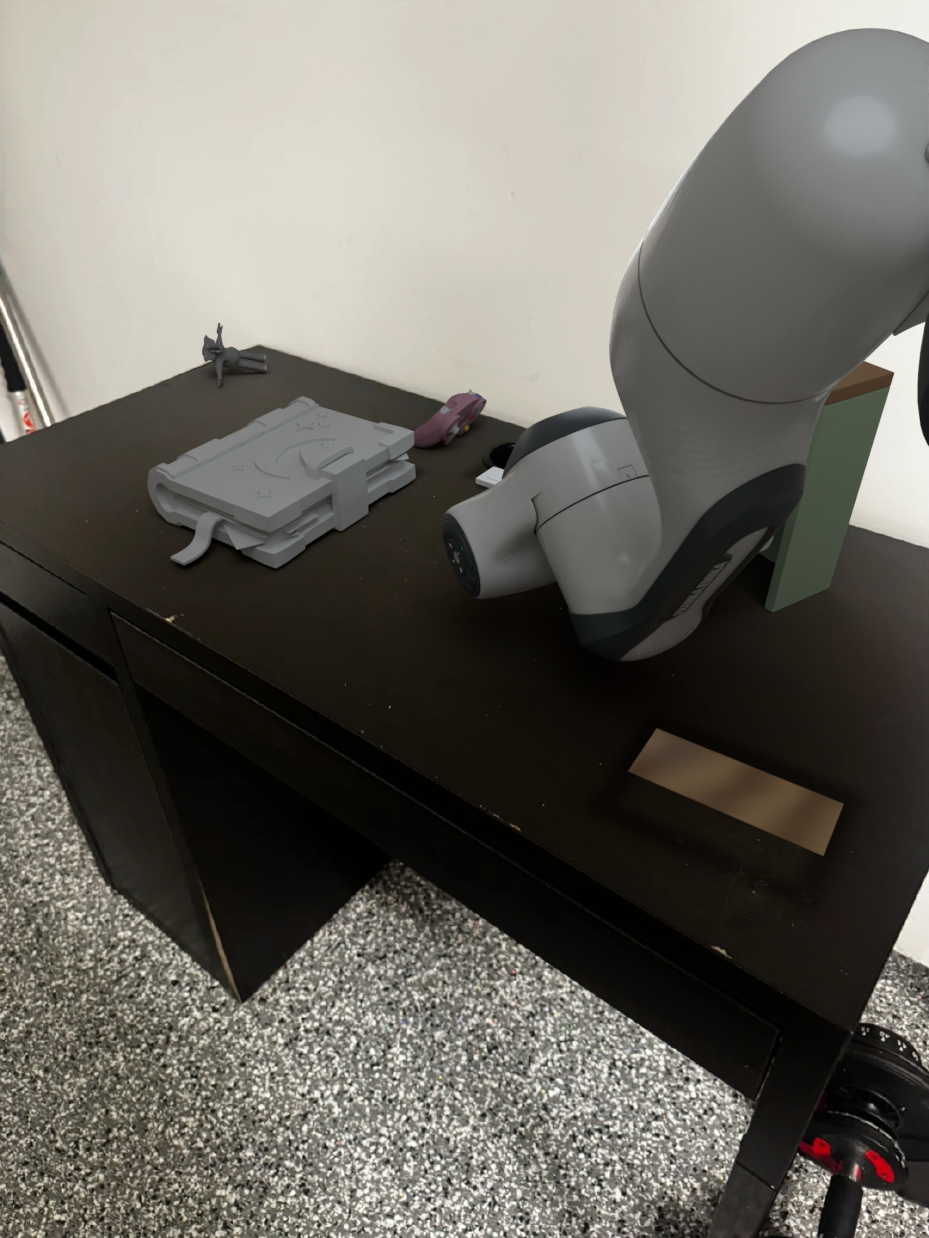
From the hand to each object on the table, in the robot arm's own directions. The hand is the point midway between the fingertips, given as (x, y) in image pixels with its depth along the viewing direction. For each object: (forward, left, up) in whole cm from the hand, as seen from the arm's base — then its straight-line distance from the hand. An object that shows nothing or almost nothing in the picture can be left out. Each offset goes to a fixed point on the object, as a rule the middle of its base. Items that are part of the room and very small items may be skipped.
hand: (733, 467), depth 81 cm
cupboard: (-1, -2, -10) cm, 11 cm away
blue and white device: (+22, -2, -11) cm, 25 cm away
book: (+43, +16, -10) cm, 47 cm away
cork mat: (-12, +31, -10) cm, 34 cm away
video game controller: (+37, -9, -10) cm, 40 cm away
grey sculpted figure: (+75, -10, -11) cm, 76 cm away
